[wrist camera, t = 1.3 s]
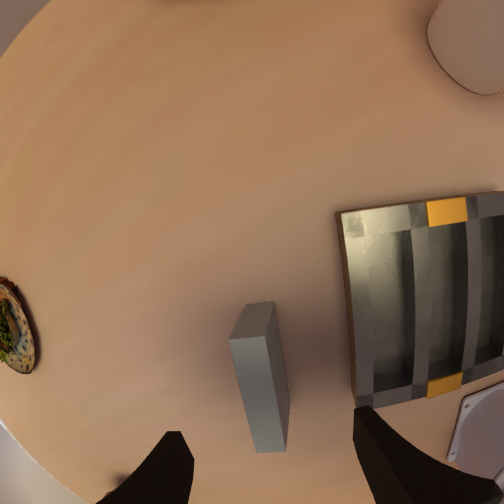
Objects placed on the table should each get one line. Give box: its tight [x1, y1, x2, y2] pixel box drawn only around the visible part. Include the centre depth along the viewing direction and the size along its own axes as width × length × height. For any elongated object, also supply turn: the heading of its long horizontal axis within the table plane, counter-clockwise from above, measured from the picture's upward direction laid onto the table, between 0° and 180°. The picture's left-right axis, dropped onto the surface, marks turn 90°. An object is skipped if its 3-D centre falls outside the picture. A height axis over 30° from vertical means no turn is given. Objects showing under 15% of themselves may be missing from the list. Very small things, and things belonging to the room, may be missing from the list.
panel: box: [228, 301, 290, 453], centre depth 19 cm, size 9×2×6 cm, turn 10°
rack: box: [335, 191, 504, 409], centre depth 18 cm, size 14×14×3 cm
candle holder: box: [427, 0, 504, 95], centre depth 10 cm, size 10×10×12 cm
